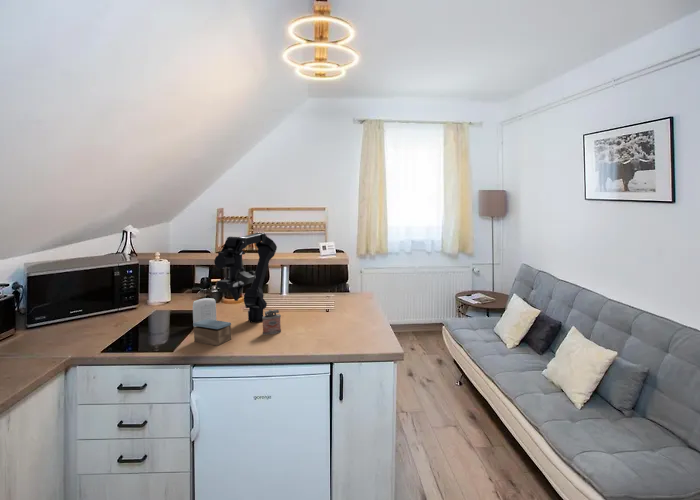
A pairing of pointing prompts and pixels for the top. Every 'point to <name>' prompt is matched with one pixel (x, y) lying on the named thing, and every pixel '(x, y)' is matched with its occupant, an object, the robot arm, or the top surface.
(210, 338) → the walnut box
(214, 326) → the lid
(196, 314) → the photo printer
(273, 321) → the lighter
